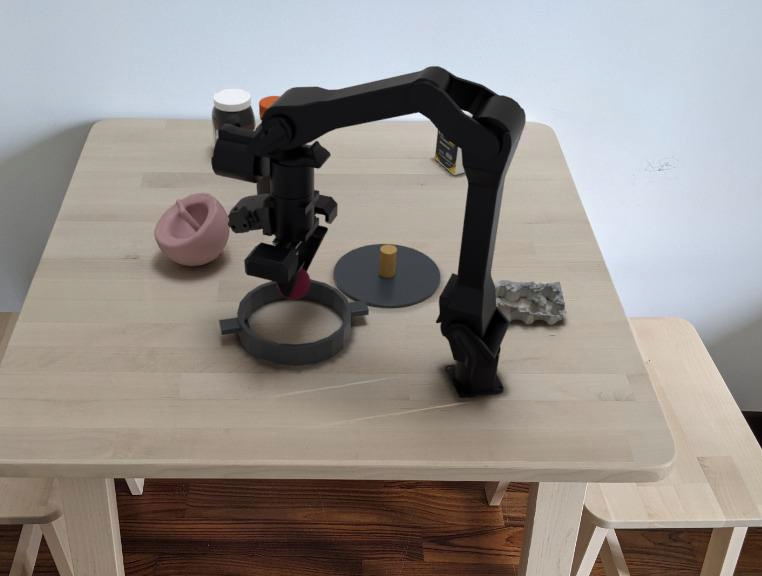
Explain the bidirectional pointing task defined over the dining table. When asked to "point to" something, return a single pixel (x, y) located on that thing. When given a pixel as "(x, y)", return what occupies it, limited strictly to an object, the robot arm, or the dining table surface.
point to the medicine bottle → (449, 153)
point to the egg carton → (537, 298)
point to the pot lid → (387, 275)
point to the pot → (293, 352)
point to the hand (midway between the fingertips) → (293, 286)
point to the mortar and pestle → (193, 230)
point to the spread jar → (232, 110)
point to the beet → (299, 286)
